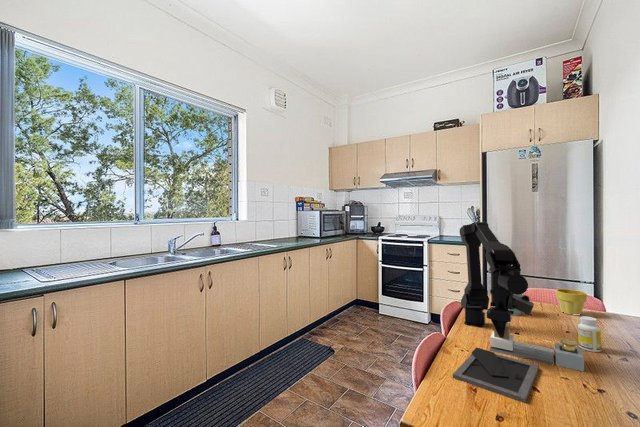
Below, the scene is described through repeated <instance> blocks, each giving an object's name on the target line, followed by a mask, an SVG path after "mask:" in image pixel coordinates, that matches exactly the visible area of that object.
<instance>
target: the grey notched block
mask: <svg viewBox="0 0 640 427" xmlns="http://www.w3.org/2000/svg"><path fill="white" fill-rule="evenodd" d="M582 350H583V349H582V348H581V347H579V346H577V345H576V346H575V353H571V352H566V351H562V343H561V342H554V355H555V356H554V357H555V366H557V367H562V368H566V369H570V370H571V369H572V370H576V371H579V372H580V371H581V372H585V359H584V358H585V357H584V354H583V351H582Z"/></svg>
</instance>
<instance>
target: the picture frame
mask: <svg viewBox="0 0 640 427" xmlns="http://www.w3.org/2000/svg"><path fill="white" fill-rule="evenodd" d="M539 371H540V365H539V364H535V363H531V362H527V361H524V360H520V359H516V358H513V357H509V356H506V355H505V356H504V355H501V354H498V353H495V351H491V350H486V349H483V348H479V347H475V348H474V350H472V352H471V354H470V355H469V356H468V357H467V358H466V359H465V360H464V361H463V363H461V365H460V366H459V367H458V368H457V369H456V370H455V371H454V372H453V373H452V379H454V378H455V379H454V380H456V381H459V382H462V381H464V382H463V383H465V382H467V383H466V384H468V383H469V385H471V384H472V385H471V386H474V387H476V388H480V389H483V390H486V391H489V392H491V393H495V394H496V395H497V394H498V395H500V396H504V397H506V398H509V399H512V400H514V401H517V402H521V403H523V404H526V403H527V401H528V398H529V395H530V393H531V390H532V389H533V386H534V383H535V380H536V378H537V375H538V373H539Z"/></svg>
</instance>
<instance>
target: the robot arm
mask: <svg viewBox="0 0 640 427" xmlns="http://www.w3.org/2000/svg"><path fill="white" fill-rule="evenodd" d="M459 236H460V239H461V242H462V243H463V245H464V246H465V249H466V250H465V251H466V265H467V285H465V288H464V294H463V296H462V298H461V299H460V304H461V305H460V306H461V307H462V308H463V309H464V322H463V324H464V325H468V326H473V327H478V328H483V327H484V326H485V324H486V318H487V319H488V320H490V321H491V323H492V325H493V328H494V327H495V329H496V331H497V333H498V335H499V337H501V338H503V337H504V332H505V327H506V323H511V322H512V319H513V317H512V316H511V315H512V314H513V313H514V311H510V310H509V309H511V310H512V309H517V310H519V311H521V313H523V314H525V315H527V316H530V315H531V313H532V310H533V308H534V306H535V305H534V302H533V301H531V300H530V299H531V298H530V296H529V295H526V294H525V293H526V292H527V291H528V287H529V283H528V280H527V278H526V277H524V276H522V275H521V270H522V268H521V264H520V261H519V260H518V258H517V256H516V253H515V252H514V250H512V248H511V247H510V246H508V245H507V244H504V243H503V242H500V241H499V239H498V238H497V236H496V235H495V234H494V232H493V231H492V230H491V229H490V226H489V223H488V222H486V221H474V222H472V223H469V224H463V225H462V226H461V227H460V228H459ZM481 245H482V246H483V247H484V249H485V250H486V252H485V259H486V262H487V264H488V266H489V269H488V270H489V271H490V290H488V289H487V288H486V287H485V286H484V285H483V283H482V282H483V281H482V270H481V267H482V266H481V256H480V255H481V254H480V253H481V252H480V246H481ZM488 291H489V293H490V295H491V296H490V297H491V298H489V294H488ZM513 294H517V295H519V294H522V296H521V297H519V296H515V295H513ZM490 300H491V301H490ZM489 305H490V307H489ZM484 311H486V312H484Z"/></svg>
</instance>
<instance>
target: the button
mask: <svg viewBox="0 0 640 427" xmlns="http://www.w3.org/2000/svg"><path fill="white" fill-rule="evenodd" d="M559 339H560V341H559V343H560V344H562V351H566V352H571V353H575V346H576V347H577V341H576V340H573V339H571V338H565V337H562V338H559Z"/></svg>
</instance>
